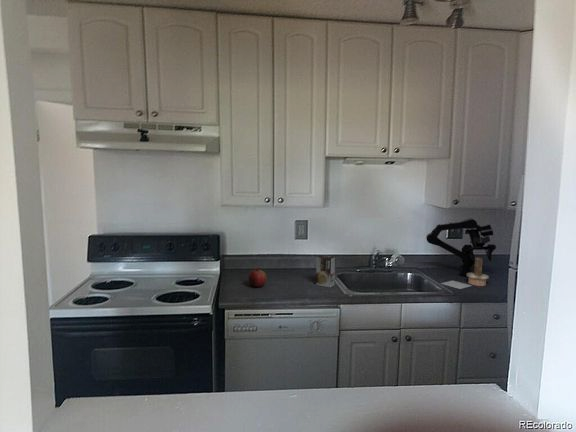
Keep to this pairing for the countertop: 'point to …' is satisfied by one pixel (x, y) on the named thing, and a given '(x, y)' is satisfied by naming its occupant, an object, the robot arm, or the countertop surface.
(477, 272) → the lid
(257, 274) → the fruit
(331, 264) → the coffee box
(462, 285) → the mat
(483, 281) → the bowl
